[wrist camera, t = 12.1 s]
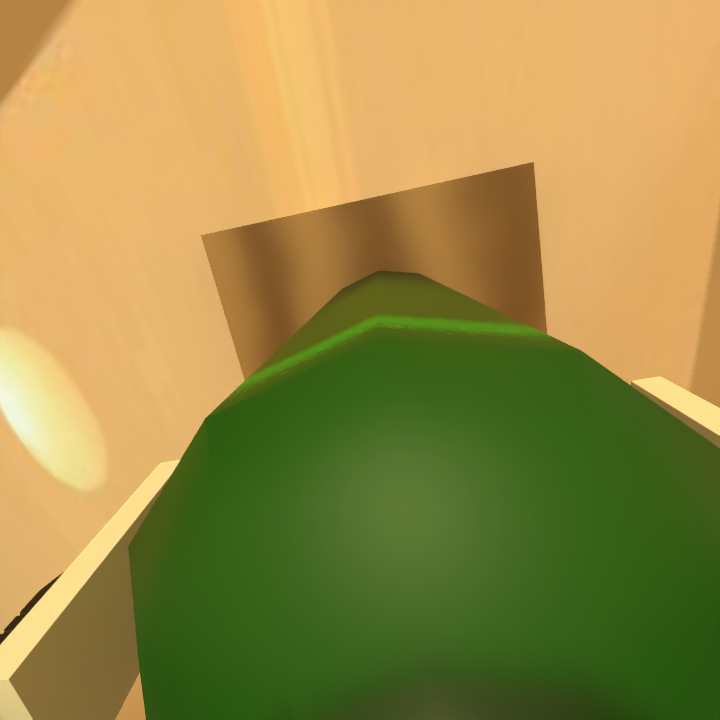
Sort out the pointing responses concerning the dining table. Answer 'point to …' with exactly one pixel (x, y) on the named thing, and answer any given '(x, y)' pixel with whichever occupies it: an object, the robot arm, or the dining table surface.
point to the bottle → (432, 532)
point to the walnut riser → (382, 255)
